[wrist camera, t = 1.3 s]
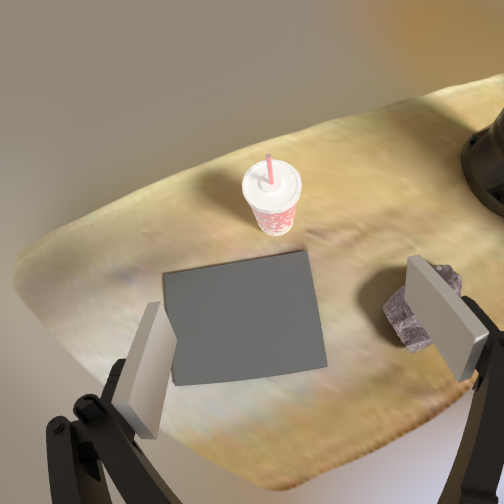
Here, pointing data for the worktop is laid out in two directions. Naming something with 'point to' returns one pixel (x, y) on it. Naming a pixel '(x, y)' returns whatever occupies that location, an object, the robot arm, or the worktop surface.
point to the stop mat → (244, 320)
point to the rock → (406, 319)
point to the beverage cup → (272, 194)
